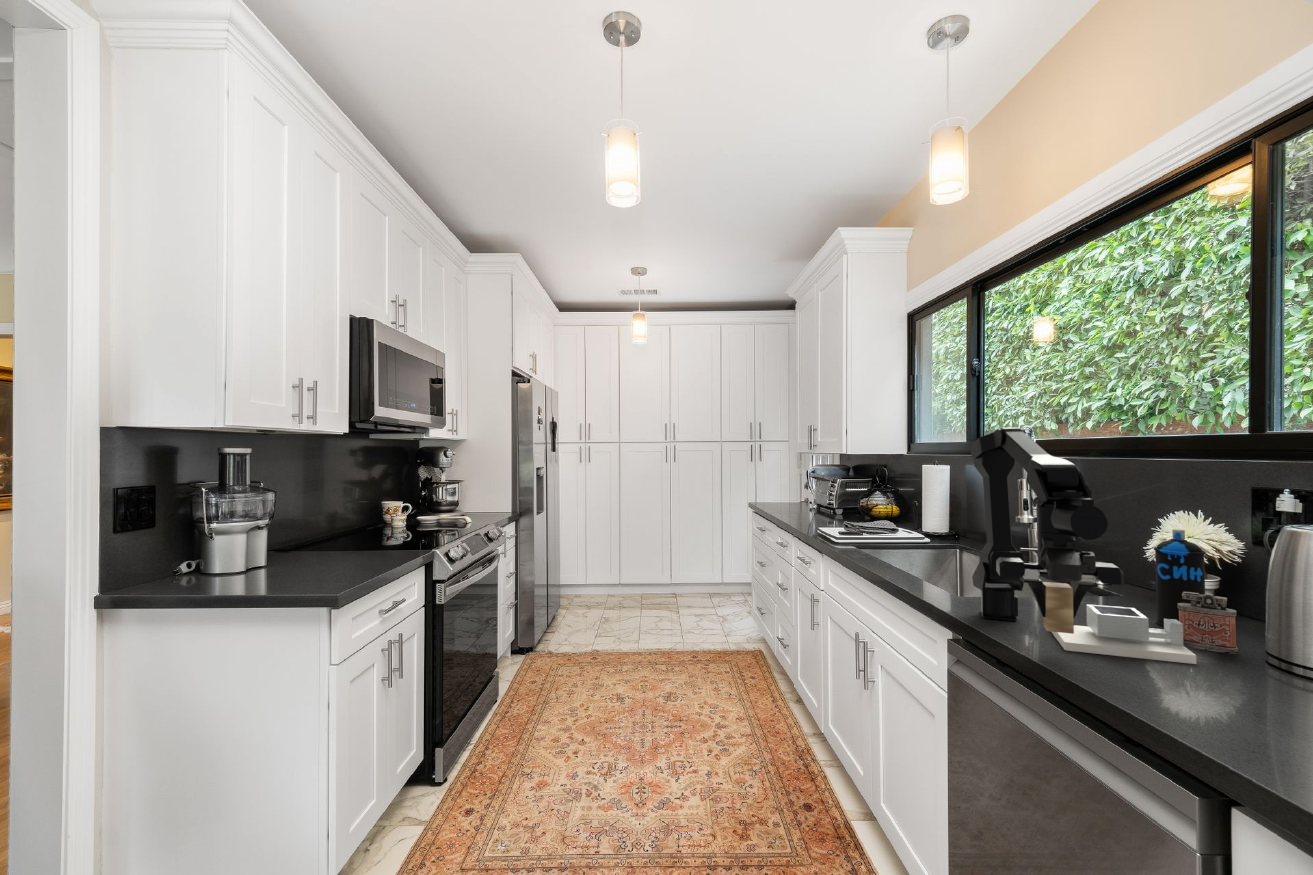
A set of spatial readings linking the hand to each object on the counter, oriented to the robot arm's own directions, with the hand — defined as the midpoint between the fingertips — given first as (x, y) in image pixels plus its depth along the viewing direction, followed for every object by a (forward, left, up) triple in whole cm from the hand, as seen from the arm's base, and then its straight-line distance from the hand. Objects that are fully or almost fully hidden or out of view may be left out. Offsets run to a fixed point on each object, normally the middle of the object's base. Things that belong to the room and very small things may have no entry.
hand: (1057, 617), depth 108 cm
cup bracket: (+14, +9, -5) cm, 17 cm away
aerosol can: (+27, +29, -7) cm, 40 cm away
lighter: (+26, +14, -7) cm, 30 cm away
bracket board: (+11, +9, -6) cm, 16 cm away
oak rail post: (0, 0, -2) cm, 2 cm away
